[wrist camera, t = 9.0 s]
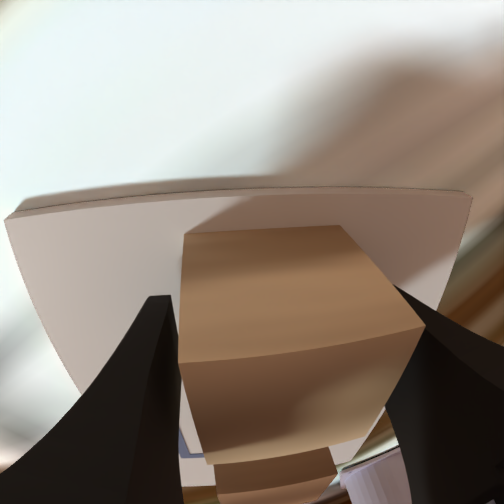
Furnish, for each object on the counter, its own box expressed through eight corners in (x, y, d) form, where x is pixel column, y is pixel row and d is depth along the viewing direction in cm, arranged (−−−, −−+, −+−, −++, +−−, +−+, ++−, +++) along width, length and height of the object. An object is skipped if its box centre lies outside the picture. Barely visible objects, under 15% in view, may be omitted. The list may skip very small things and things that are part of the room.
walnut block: (206, 400, 12) (216, 494, 8) (307, 387, 13) (338, 473, 9) (215, 442, 14) (225, 514, 11) (296, 431, 15) (316, 500, 11)
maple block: (184, 233, 8) (177, 362, 4) (339, 224, 9) (425, 325, 5) (198, 348, 11) (207, 464, 7) (320, 335, 11) (365, 436, 7)
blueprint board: (12, 212, 8) (2, 221, 7) (462, 191, 10) (473, 198, 9) (152, 479, 18) (152, 486, 18) (348, 455, 21) (350, 461, 20)
